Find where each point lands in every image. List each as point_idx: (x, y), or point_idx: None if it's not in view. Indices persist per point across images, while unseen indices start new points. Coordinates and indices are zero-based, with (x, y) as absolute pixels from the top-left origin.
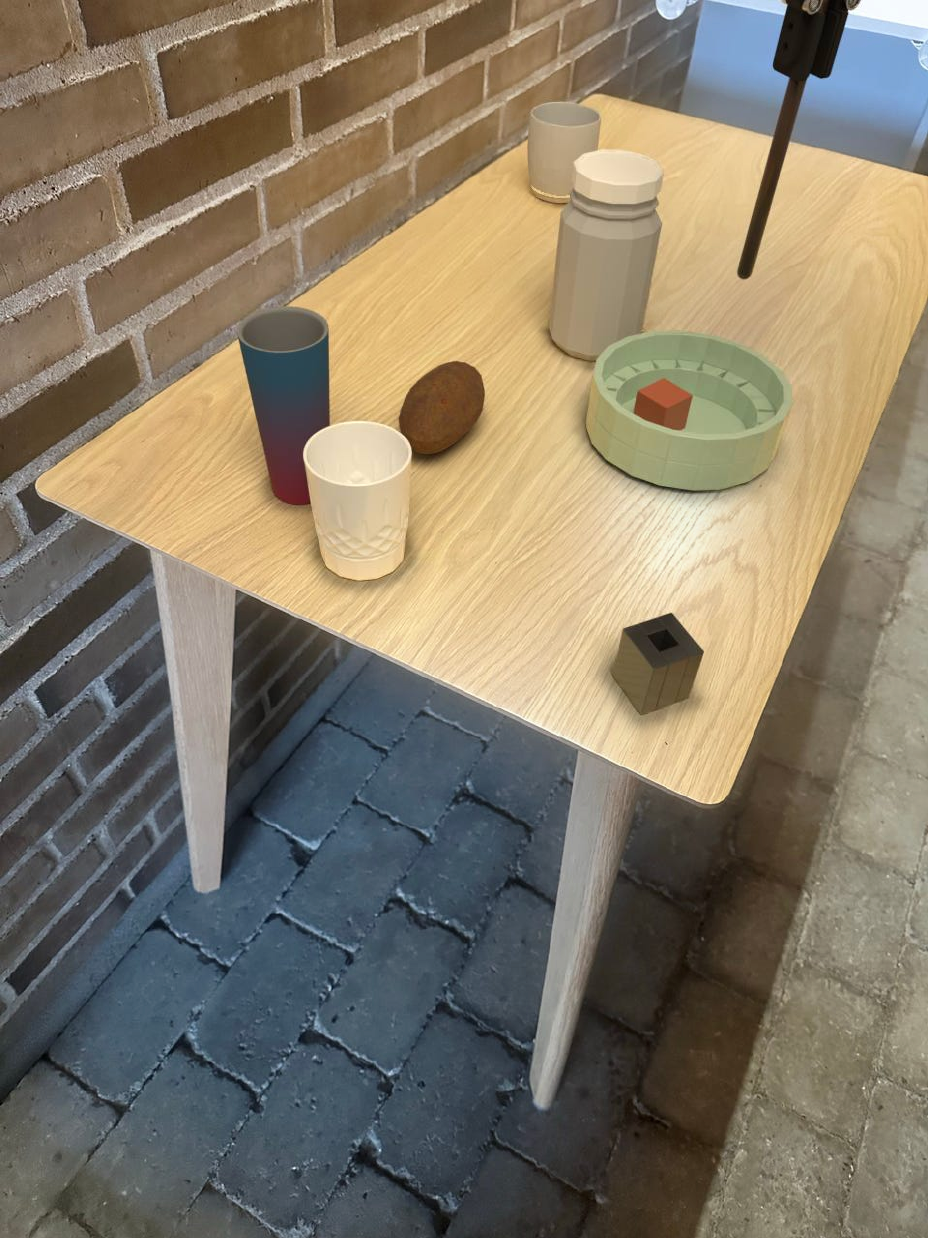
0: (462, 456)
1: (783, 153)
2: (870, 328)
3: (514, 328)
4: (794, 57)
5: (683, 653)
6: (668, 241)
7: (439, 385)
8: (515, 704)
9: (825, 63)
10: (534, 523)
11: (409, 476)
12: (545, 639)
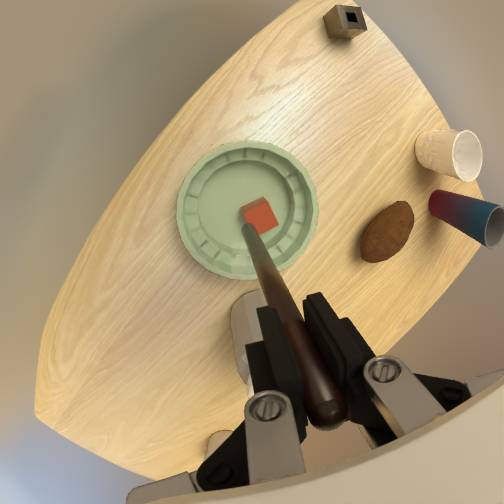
0: (373, 209)
1: (267, 267)
2: (75, 302)
3: None
4: (342, 321)
5: (345, 7)
6: (174, 399)
7: (403, 231)
8: (391, 44)
9: (278, 316)
10: (357, 143)
11: (447, 140)
12: (373, 68)
